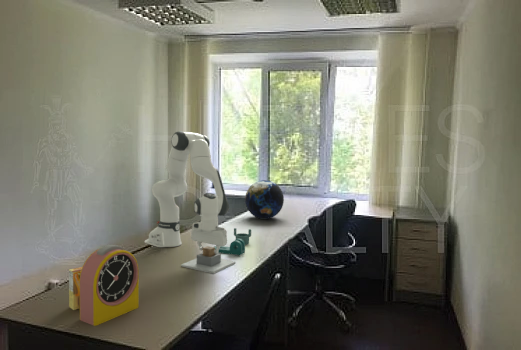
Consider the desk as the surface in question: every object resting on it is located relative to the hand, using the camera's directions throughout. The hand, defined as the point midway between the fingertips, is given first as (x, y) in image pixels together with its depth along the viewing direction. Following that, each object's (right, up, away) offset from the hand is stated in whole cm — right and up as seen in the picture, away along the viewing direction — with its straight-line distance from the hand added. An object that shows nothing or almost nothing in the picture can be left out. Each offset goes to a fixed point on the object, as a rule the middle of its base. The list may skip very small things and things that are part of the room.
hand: (208, 251), depth 237 cm
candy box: (-43, -12, -56) cm, 72 cm away
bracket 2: (+16, -3, +47) cm, 49 cm away
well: (0, -7, +1) cm, 7 cm away
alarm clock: (-30, -13, -62) cm, 70 cm away
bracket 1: (+8, -5, +26) cm, 27 cm away
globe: (+29, +5, +121) cm, 124 cm away
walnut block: (0, -6, +1) cm, 6 cm away
